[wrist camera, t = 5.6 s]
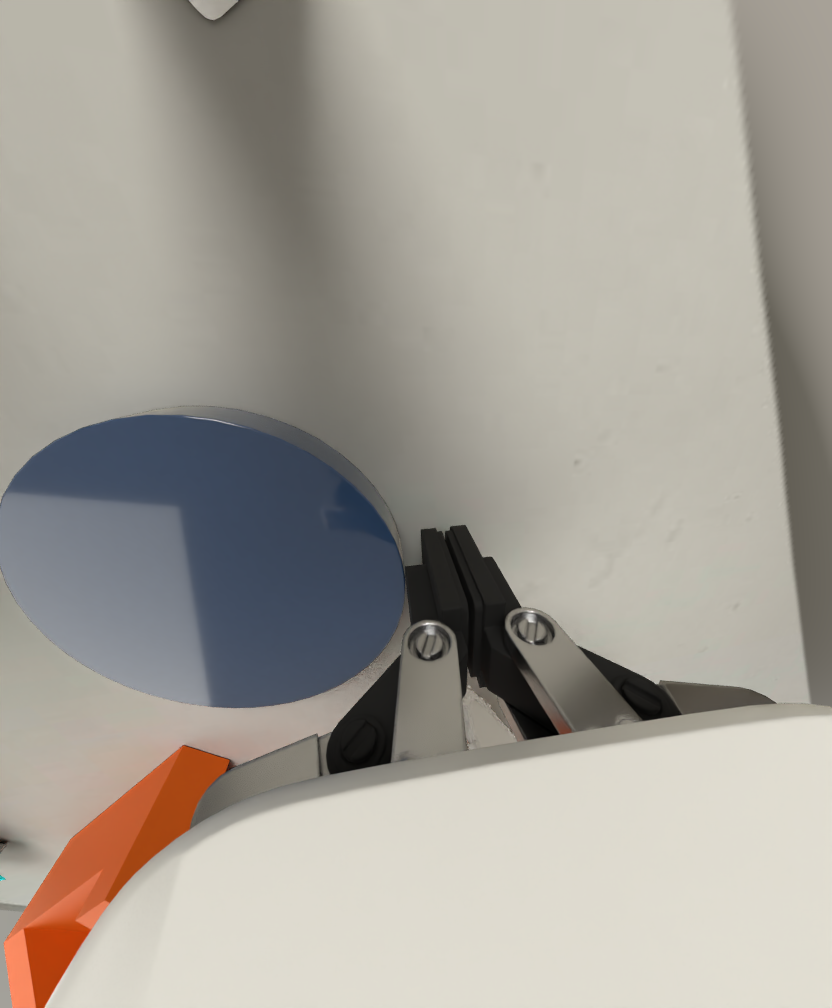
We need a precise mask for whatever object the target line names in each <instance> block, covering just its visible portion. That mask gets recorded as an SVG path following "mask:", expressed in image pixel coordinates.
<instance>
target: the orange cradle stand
mask: <svg viewBox="0 0 832 1008" xmlns="http://www.w3.org/2000/svg"><path fill="white" fill-rule="evenodd" d="M229 761H230V760H228V759H225V758H222V757H218V756H215V755H212V754H209V753H206V752H203V751H199V750H196V749H193V748H190V747H187V746H184V745H183V746H182V747H181V748H180V749H178V750H177V751H176V752H175V753H174V754H172V755H171V756H170V757H169V758H168V759H166V760H165V761H164V762H163V763H162V764H160V765H159V766H158V767H157V768H156V769H154V770H153V771H152V772H151V773H150V774H148V775H147V776H146V777H145V778H144V779H142V780H141V781H140V782H139V783H138V784H136V785H135V786H134V787H133V788H132V789H130V790H129V791H128V792H127V793H126V794H124V795H123V796H122V797H121V798H120V799H118V800H117V801H116V802H115V803H114V804H112V805H111V806H110V807H109V808H108V809H106V810H105V811H104V812H103V813H102V814H100V815H99V816H98V817H97V818H96V819H94V820H93V821H92V822H91V823H90V824H88V825H87V826H86V827H85V828H84V829H82V830H81V831H80V832H79V833H77V834H76V835H75V836H74V837H73V838H71V839H70V841H69V842H68V844H67V846H66V847H65V849H64V850H63V852H62V853H61V855H60V856H59V858H58V859H57V861H56V863H55V864H54V866H53V867H52V869H51V870H50V872H49V873H48V875H47V877H46V878H45V880H44V881H43V883H42V884H41V886H40V887H39V889H38V891H37V892H36V894H35V895H34V897H33V898H32V900H31V901H30V903H29V904H28V906H27V908H26V909H25V911H24V912H23V914H22V915H21V917H20V919H19V920H18V922H17V923H16V925H15V926H14V928H13V929H12V931H11V933H10V934H9V936H8V937H7V939H6V940H5V942H4V949H5V956H6V963H7V970H8V977H9V985H10V992H11V999H12V1006H13V1008H44V1007H45V1006H46V1004H47V1002H48V1000H49V999H50V997H51V995H52V993H53V992H54V990H55V988H56V986H57V985H58V983H59V981H60V980H61V978H62V976H63V975H64V973H65V971H66V970H67V968H68V966H69V965H70V963H71V961H72V960H73V958H74V956H75V955H76V953H77V951H78V950H79V948H80V946H81V945H82V943H83V942H84V940H85V939H86V937H87V936H88V934H89V933H90V931H91V930H92V928H93V927H94V925H95V924H96V922H97V921H98V919H99V917H100V916H101V915H102V913H103V912H104V910H105V909H106V908H107V906H108V905H109V904H110V903H111V901H112V900H113V899H114V897H115V896H116V895H117V894H118V892H119V891H120V890H121V889H122V887H123V886H124V885H125V884H126V883H127V882H128V881H129V880H130V879H131V877H132V876H133V875H134V874H135V873H136V872H137V871H138V870H139V869H141V868H142V867H143V866H144V865H145V864H146V863H147V862H148V861H149V860H150V859H151V858H153V857H154V856H155V855H156V854H157V853H159V852H160V851H161V850H162V849H164V848H165V847H166V846H168V845H169V844H170V843H171V842H173V841H174V840H175V839H176V838H178V837H179V836H181V835H182V834H184V833H185V832H187V831H188V830H189V829H190V825H191V821H192V817H193V815H194V812H195V809H196V807H197V804H198V802H199V800H200V799H201V797H202V796H203V794H204V793H205V791H206V790H207V788H208V787H209V786H210V785H211V784H212V783H213V782H214V781H215V780H216V779H217V778H218V777H219V776H220V775H222V774H224V773H225V772H226V769H227V766H228V764H229Z"/></svg>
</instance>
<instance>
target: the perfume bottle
mask: <svg viewBox="0 0 832 1008" xmlns="http://www.w3.org/2000/svg"><path fill="white" fill-rule="evenodd" d="M189 1H190V2H191V4H192V5H193V6H194V7H195V8H196V9H197V10H198V11H199V12H200V13H201V14H202V15H203V16H204V17H205V18H208V19H211V20H215V19H217V18H219V17H221V16H222V15H223V14H225V13H226V12H227V11H228V10H229V9H230V8H231V7H232V6H233V5H234V4H235V3H236V2H237V1H239V0H189Z"/></svg>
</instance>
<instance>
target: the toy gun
mask: <svg viewBox="0 0 832 1008" xmlns="http://www.w3.org/2000/svg"><path fill="white" fill-rule="evenodd" d="M5 846H6V844H4V843H0V853H1V852H2V850H3V849H4V847H5ZM1 880H5V878H4V877H2V876H1V875H0V881H1Z"/></svg>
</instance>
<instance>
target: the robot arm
mask: <svg viewBox="0 0 832 1008" xmlns="http://www.w3.org/2000/svg"><path fill="white" fill-rule="evenodd" d="M421 545H422V563H423V564H422V565H413V566H405V574H406V585H407V595H408V605H409V613H410V621H411V626H410V627H409V628H408V629H407V631H406V632H405V634H404V636H403V640H402V647H401V655H400V656H399V657H398V658H397V659H396V660H395V661H394V662H393V663H392V665H391V666H390V667H389V668H388V669H387V670H386V671H385V672H384V673H383V674H382V676H381V677H380V678H379V679H378V680H377V681H376V682H375V683H374V684H373V685H372V687H371V688H370V689H369V690H368V691H367V692H366V693H365V694H364V695H363V696H362V698H361V699H360V700H359V701H358V702H357V703H356V704H355V705H354V706H353V707H352V709H351V710H350V711H349V712H348V713H347V714H346V715H345V716H344V717H343V718H342V720H341V721H340V722H339V723H338V724H337V726H336V727H335V729H334V730H333V732H330V733H328V734H326V735H323V736H321V737H318V734H314V735H312V736H310V737H307V738H305V739H302V740H300V741H297V742H295V743H293V744H290V745H288V746H285V747H283V748H280V749H278V750H275V751H273V752H271V753H268V754H266V755H263V756H261V757H258V758H256V759H254V760H251V761H249V762H246V763H244V764H241V765H239V766H236V767H234V768H232V769H230V770H229V771H227V772H225V773H224V774H222V775H220V776H219V777H218V778H217V779H216V780H215V781H214V782H213V783H212V784H211V785H210V786H209V787H208V788H207V790H206V791H205V793H204V794H203V796H202V797H201V799H200V800H199V802H198V804H197V807H196V809H195V812H194V815H193V817H192V821H191V825H190V829H189V830H188V831H187V832H185V833H184V834H182V835H181V836H179V837H178V838H176V839H175V840H174V841H173V842H171V843H170V844H169V845H168V846H166V847H165V848H164V849H162V850H161V851H160V852H159V853H157V854H156V855H155V856H154V857H153V858H151V859H150V860H149V861H148V862H147V863H146V864H145V865H144V866H143V867H142V868H141V869H139V870H138V871H137V872H136V873H135V874H134V875H133V876H132V877H131V879H130V880H129V881H128V882H127V883H126V884H125V885H124V886H123V887H122V889H121V890H120V891H119V892H118V894H117V895H116V896H115V897H114V899H113V900H112V901H111V903H110V904H109V905H108V906H107V908H106V909H105V910H104V912H103V913H102V915H101V916H100V917H99V919H98V921H97V922H96V924H95V925H94V927H93V928H92V930H91V931H90V933H89V934H88V936H87V937H86V939H85V940H84V942H83V943H82V945H81V946H80V948H79V950H78V951H77V953H76V955H75V956H74V958H73V960H72V961H71V963H70V965H69V966H68V968H67V970H66V971H65V973H64V975H63V976H62V978H61V980H60V981H59V983H58V985H57V986H56V988H55V990H54V992H53V993H52V995H51V997H50V999H49V1000H48V1002H47V1004H46V1006H45V1007H44V1008H832V707H830V706H822V705H813V704H794V703H776V702H774V701H772V700H771V699H769V698H768V697H766V696H764V695H762V694H760V693H757V692H755V691H753V690H750V689H745V688H741V687H732V686H720V685H708V684H696V683H685V682H673V681H661V680H660V682H659V684H658V685H657V684H655V683H654V682H652V681H650V680H648V679H647V678H645V677H643V676H641V675H639V674H637V673H635V672H633V671H631V670H628V669H626V668H624V667H622V666H620V665H618V664H616V663H614V662H611V661H609V660H607V659H605V658H603V657H601V656H599V655H596V654H594V653H592V652H590V651H588V650H586V649H584V648H582V647H579V646H577V645H576V644H575V643H574V642H573V641H572V639H571V638H570V637H569V636H568V635H567V634H566V633H565V631H564V630H563V629H562V628H561V627H560V626H559V625H558V624H557V622H556V621H555V620H554V619H553V618H551V617H550V616H549V615H548V614H546V613H544V612H542V611H540V610H537V609H534V608H527V607H523V608H522V607H521V606H520V604H519V602H518V600H517V599H516V597H515V595H514V594H513V592H512V590H511V588H510V587H509V585H508V583H507V581H506V580H505V578H504V576H503V574H502V573H501V571H500V569H499V568H498V566H497V564H496V562H495V561H494V559H493V558H492V557H484V558H483V557H482V556H481V554H480V552H479V550H478V548H477V546H476V544H475V542H474V540H473V538H472V537H471V535H470V533H469V531H468V529H467V527H466V526H465V525H460V526H451V527H450V530H449V531H445V539H444V536H443V534H442V531H439V532H437V530H436V528H431V529H422V530H421ZM467 666H468V670H469V673H470V676H471V677H477V680H478V683H479V687H480V688H482V687H487V689H488V690H489V691H491V692H492V693H494V694H495V695H497V700H498V703H499V706H500V708H501V710H502V712H503V714H504V716H505V718H506V720H507V722H508V724H509V726H510V728H511V730H512V732H513V734H514V736H515V738H516V740H517V742H514V743H507V744H501V745H495V746H489V747H483V748H478V749H472V750H467V741H466V731H465V721H464V711H463V701H462V699H463V697H464V696H465V694H466V690H467Z"/></svg>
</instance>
